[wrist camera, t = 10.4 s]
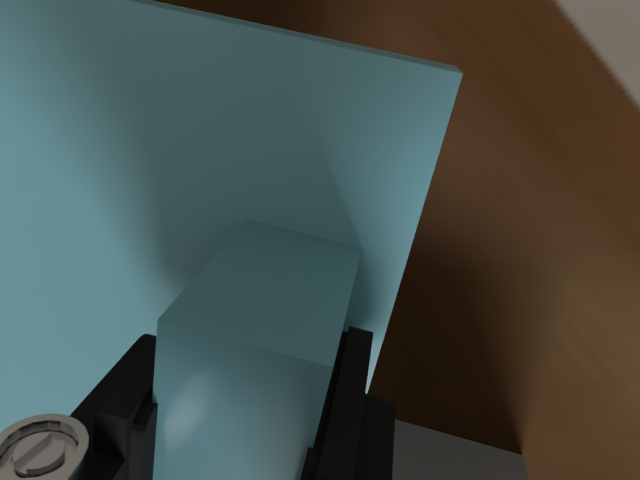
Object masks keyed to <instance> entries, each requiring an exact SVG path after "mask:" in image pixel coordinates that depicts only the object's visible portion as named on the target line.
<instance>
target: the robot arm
mask: <svg viewBox="0 0 640 480" xmlns="http://www.w3.org/2000/svg"><path fill="white" fill-rule="evenodd" d="M372 341H373V332H371V331H367V330H363V329H360V328H356V327H352V326H349V329H348V332H345V331H342V334H341V338H340V342H339V346H338V350H337V354H336V358H335V363H334V367H333V371H332V375H331V378H330V382H329V386H328V390H327V394H326V398H325V402H324V406H323V410H322V414H321V418H320V422H319V426H318V430H317V434H316V437H315V441H314V445H313V448H311V447H308V451H307V455H306V458H305V462H304V466H303V470H302V474H301V478H300V480H392V471H393V452H394V432H395V413H396V404H395V401H391V400H388V399H384V398H380V397H377V396H373V395H369V394H366V393H365V391H366V384H367V377H368V370H369V362H370V355H371V348H372ZM155 351H156V336H154V335H150V334H143V335H142V336H141V337H140V338H138V339H137V341H136V342H135V343H134V344H133V345H132V346H131V347H130V348H129V350H128V351H127V352H126V353H125V354H124V355H123V356H122V357H121V359H120V360H119V361H118V362H117V363H116V364H115V365H114V366H113V367H112V369H111V370H110V371H109V372H108V373H107V374H106V375H105V376H104V378H103V379H102V380H101V381H100V382H99V383H98V384H97V385H96V386H95V388H94V389H93V390H92V391H91V392H90V393H89V394H88V395H87V397H86V398H85V399H84V400H83V401H82V402H81V403H80V404H79V406H78V407H77V408H76V409H75V410H74V411H73V412H72V413H71V414H70V416H67V415H63V414H54V413H50V414H40V415H35V416H32V417H28V418H25V419H22V420H20V421H18V422H16V423H14V424H12V425H10V426H8V427H7V428H6V429H5V430H3V431H2V432H1V433H0V480H153V468H154V454H155V440H156V426H157V412H158V404H157V403H153V402H152V397H153V381H154V366H155Z"/></svg>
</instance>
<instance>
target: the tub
mask: <svg viewBox="0 0 640 480" xmlns="http://www.w3.org/2000/svg"><path fill="white" fill-rule="evenodd" d="M392 480H529V479H528V475H527V471H526V467H525V463H524V459H523V455H521V454H517V453H514V452H510V451H506V450H503V449H499V448H496V447H492V446H489V445H485V444H482V443H478V442H475V441H471V440H468V439H464V438H460V437H457V436H453V435H450V434H446V433H443V432H439V431H436V430H432V429H429V428H425V427H422V426H418V425H414V424H411V423H407V422H404V421H400V420H397V419H395V432H394V452H393V471H392Z"/></svg>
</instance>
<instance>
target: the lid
mask: <svg viewBox="0 0 640 480" xmlns="http://www.w3.org/2000/svg"><path fill="white" fill-rule="evenodd" d="M462 75H463V73H462V72H461V71H460V70H459V69H457V68H456V67H455V66H453V65H448V64H444V63H439V62H435V61H430V60H425V59H421V58H416V57H411V56H407V55H402V54H398V53H393V52H388V51H384V50H379V49H375V48H370V47H365V46H361V45H356V44H351V43H347V42H342V41H338V40H333V39H328V38H324V37H319V36H315V35H310V34H305V33H301V32H296V31H291V30H287V29H282V28H278V27H273V26H268V25H264V24H259V23H254V22H250V21H245V20H241V19H236V18H231V17H227V16H222V15H218V14H213V13H208V12H204V11H199V10H194V9H190V8H185V7H181V6H176V5H171V4H167V3H162V2H157V1H153V0H0V433H1V432H2V431H3V430H5V429H6V428H7V427H8V426H10V425H12V424H14V423H16V422H18V421H20V420H22V419H25V418H28V417H32V416H35V415H40V414H50V413H54V414H63V415H67V416H70V414H71V413H72V412H73V411H74V410H75V409H76V408H77V407H78V406H79V404H80V403H81V402H82V401H83V400H84V399H85V398H86V397H87V395H88V394H89V393H90V392H91V391H92V390H93V389H94V388H95V386H96V385H97V384H98V383H99V382H100V381H101V380H102V379H103V378H104V376H105V375H106V374H107V373H108V372H109V371H110V370H111V369H112V367H113V366H114V365H115V364H116V363H117V362H118V361H119V360H120V359H121V357H122V356H123V355H124V354H125V353H126V352H127V351H128V350H129V348H130V347H131V346H132V345H133V344H134V343H135V342H136V341H137V339H138V338H140V337H141V336H142V335H143V334H150V335H154V336H156V351H155V366H154V381H153V397H152V402H153V403H157V404H158V412H157V426H156V440H155V454H154V468H153V480H300V478H301V474H302V470H303V466H304V462H305V458H306V455H307V451H308V447H311V448H313V445H314V441H315V437H316V434H317V430H318V426H319V422H320V418H321V414H322V410H323V406H324V402H325V398H326V394H327V390H328V386H329V382H330V378H331V375H332V371H333V367H334V363H335V358H336V354H337V350H338V346H339V342H340V338H341V334H342V331H345V332H348V329H349V326H352V327H356V328H360V329H363V330H367V331H371V332H373V341H372V348H371V355H370V362H369V370H368V377H367V384H366V391H365V393H366V394H367V393H368V390H369V386H370V383H371V379H372V376H373V373H374V369H375V366H376V363H377V359H378V356H379V353H380V349H381V346H382V343H383V339H384V336H385V333H386V329H387V326H388V323H389V319H390V316H391V312H392V309H393V306H394V302H395V299H396V296H397V292H398V289H399V286H400V282H401V279H402V276H403V272H404V269H405V266H406V262H407V259H408V256H409V252H410V249H411V246H412V242H413V239H414V235H415V232H416V229H417V225H418V222H419V219H420V215H421V212H422V209H423V205H424V202H425V199H426V195H427V192H428V189H429V185H430V182H431V179H432V175H433V172H434V168H435V165H436V162H437V158H438V155H439V152H440V148H441V145H442V142H443V138H444V135H445V132H446V128H447V125H448V122H449V118H450V115H451V112H452V108H453V105H454V102H455V98H456V95H457V91H458V88H459V85H460V81H461V78H462Z"/></svg>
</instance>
